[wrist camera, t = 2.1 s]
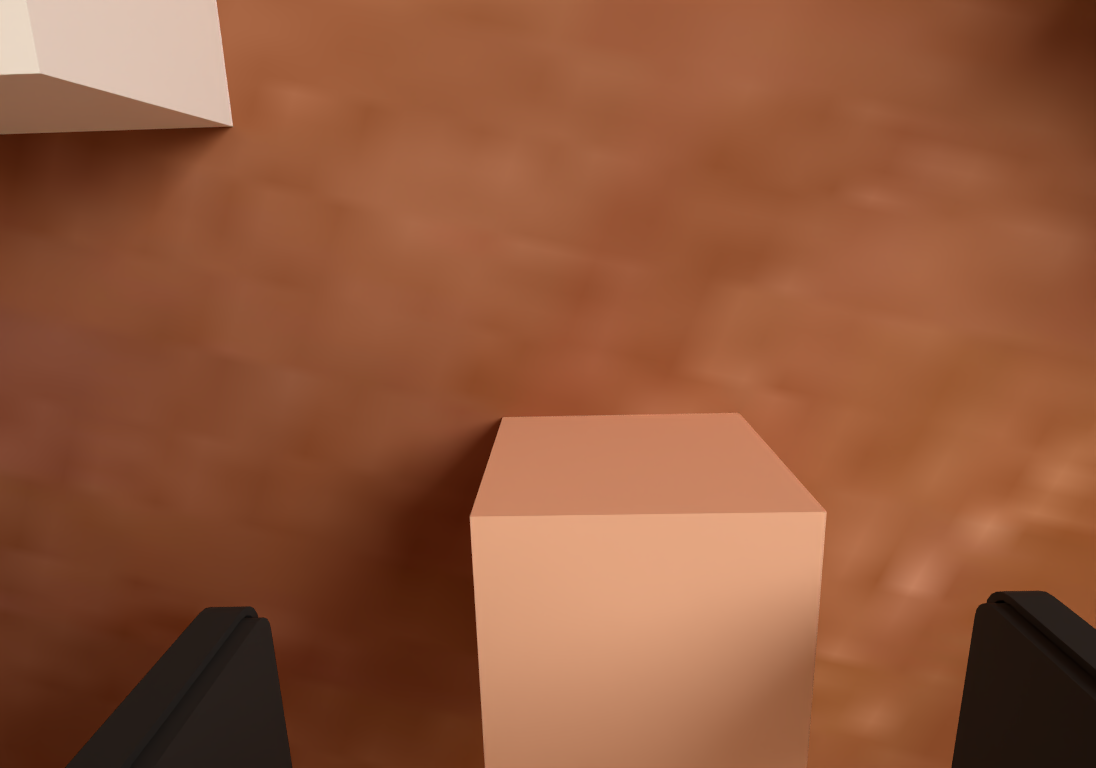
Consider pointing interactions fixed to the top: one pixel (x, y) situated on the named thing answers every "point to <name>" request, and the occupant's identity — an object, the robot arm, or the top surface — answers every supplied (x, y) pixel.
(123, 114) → the cream block
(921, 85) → the top surface
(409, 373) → the top surface
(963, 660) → the top surface
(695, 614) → the terracotta block
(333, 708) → the top surface
